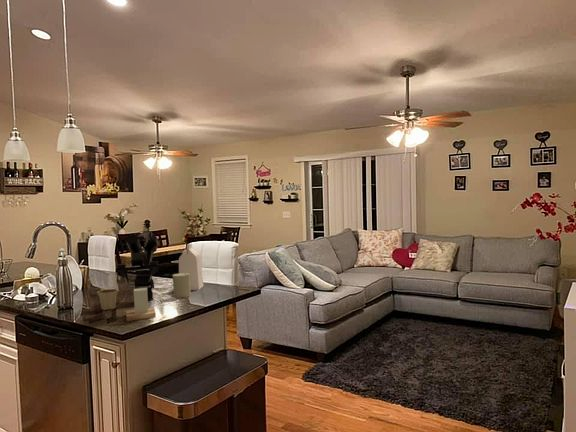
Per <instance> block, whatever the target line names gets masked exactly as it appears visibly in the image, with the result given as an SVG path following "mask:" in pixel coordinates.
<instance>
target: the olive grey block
mask: <svg viewBox="0 0 576 432" xmlns="http://www.w3.org/2000/svg"><path fill="white" fill-rule="evenodd" d="M172 286H173V287H172V288H173V297H174V298H177V299H178V298H179V299H180V298H186V297H187V296H188V297H191V296H192V293H191V291H192V290H190V274H189V273H179V272H178V273H174V274H172Z"/></svg>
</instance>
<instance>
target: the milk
mask: <svg viewBox="0 0 576 432" xmlns="http://www.w3.org/2000/svg"><path fill="white" fill-rule="evenodd" d="M202 267H203V265H202V257H201V254H200V253H199V252H198V251H196V250H195V249H194V248H193V244H192V243H187V244H186V249H184V250H183V251H182V252H181V254H180V256H179V258H178V274H179V273H189V274H190V291H196V290H197V291H199V290H200V289H202V288H203V286H204V277H203V275H204V274H203V268H202Z"/></svg>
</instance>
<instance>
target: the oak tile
mask: <svg viewBox="0 0 576 432" xmlns="http://www.w3.org/2000/svg"><path fill="white" fill-rule="evenodd" d="M125 313H126V315H125V316H126V322H129V321H137V320H145V319H152V318H156V317H157V315H156V310H155V307H154V306H153V307H152V306H151V307H148V312H146V313H137V314H135V309H130V310H126V311H125Z"/></svg>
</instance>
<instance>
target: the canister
mask: <svg viewBox="0 0 576 432" xmlns="http://www.w3.org/2000/svg"><path fill="white" fill-rule="evenodd" d="M133 301H134V303H133V304H134V310H135V314H137V313H146V312H148V308H149V301H148V296H147V288H138V289H135V288H134V289H133Z"/></svg>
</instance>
